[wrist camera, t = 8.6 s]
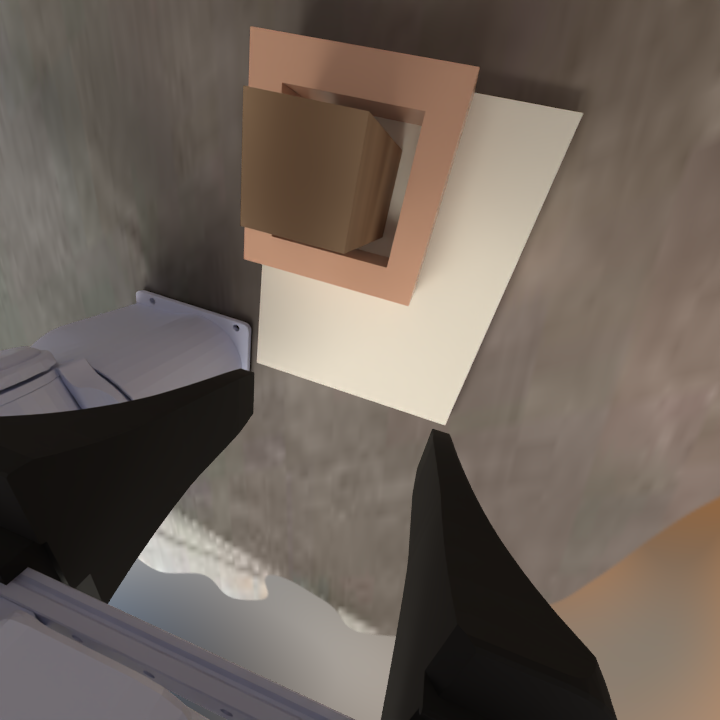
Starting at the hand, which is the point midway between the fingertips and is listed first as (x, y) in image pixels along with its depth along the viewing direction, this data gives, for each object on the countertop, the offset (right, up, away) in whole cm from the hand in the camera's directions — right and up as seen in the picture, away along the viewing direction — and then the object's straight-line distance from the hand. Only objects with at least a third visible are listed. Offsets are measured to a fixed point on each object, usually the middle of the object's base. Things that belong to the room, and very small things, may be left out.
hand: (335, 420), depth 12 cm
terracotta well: (+1, +11, +4) cm, 12 cm away
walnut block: (+1, +11, +4) cm, 12 cm away
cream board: (+2, +8, +7) cm, 10 cm away
